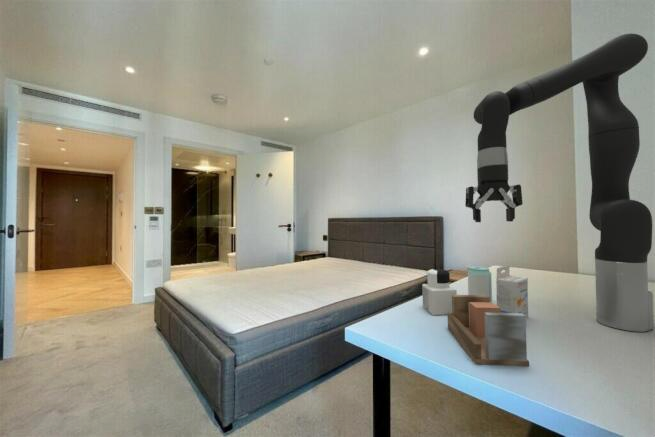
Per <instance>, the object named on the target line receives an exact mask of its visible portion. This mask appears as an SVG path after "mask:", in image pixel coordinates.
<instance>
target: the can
mask: <svg viewBox="0 0 655 437" xmlns="http://www.w3.org/2000/svg"><path fill="white" fill-rule="evenodd" d="M492 283H493V282H492V272H491V271H490V268H489V267H486V266H480V265H479V266H476V265H475V266H470V267H469V269H468V271H467V295H487V296H489V297H490V302H492V303H493V289H492V286H493V285H492Z"/></svg>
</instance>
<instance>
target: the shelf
mask: <svg viewBox="0 0 655 437" xmlns="http://www.w3.org/2000/svg"><path fill="white" fill-rule="evenodd" d="M469 302H490V297H489V296H487V295H468V294H457V295H452V314H450V313H447V314H448V315H447V329H448V331H449V333H451V334H452V336H453V337H454V338H455V339H456V341H457V342H458V343H459V345H460V346H461V348H463V350H464V351H465V353H466V354H467V355H468V357H469V358H470V359H471V360H472V362H473V363H474V364H475V365H492V366H493V365H494V366H513V367H514V366H515V367H530V361H529V360H528V352H527V351H528V350H527V318H526V316H525V315H524V314H522V313H488V312H485V337H476V336H475V334H474V333H473V332H472V331H471V330H470V329H469Z"/></svg>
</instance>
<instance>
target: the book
mask: <svg viewBox="0 0 655 437" xmlns="http://www.w3.org/2000/svg"><path fill="white" fill-rule="evenodd" d="M485 312H488V313H501V308H500V307H498V306H497V304H495V303H494V302H493V301H492V302H469V329H470V330H471V331H472V332H473V333H474V334H475V336H476V337H485Z"/></svg>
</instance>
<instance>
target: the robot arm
mask: <svg viewBox="0 0 655 437" xmlns="http://www.w3.org/2000/svg"><path fill="white" fill-rule="evenodd" d="M648 50H649V43H648V41H647V40H646V38H645V37H644V36H643V35H640V34H639V33H638V34H637V33H625V34H624V33H623V34H621V35H618V36H616V37H614V38H611V39H610V40H608V41H606V43H604V44H603V45H601V46H598V47H597V48H595V49H594V50H592V51H590V52H588V53H586V54H584V55H582V56H580V57H578V58H575V59H574V60H572V61H570V62H568V63H566V64H563V65H561V66H559V67H557V68H554V69H552V70H549V71H547V72H545V73H542V74H540V75H537V76H535V77H532V78H530V79H528V80H525V81H523V82H520V83H518V84H516V85H514V86H513V87H511V88H510V89H509V90H508V91H506V92H503V91H499V90H498V91H497V90H496V91H495V90H494V91H492V92H490V93H488V94H487V95H486V96H484V97H483V99H482V100H481V101H480V102H479V103H478V104H477V105H476V107H475V109H474V111H473V119H474V121H475V122H476V123H477V124H479V125H481V128H480V131H479V133H478V135H477V156H476V157H477V160H476V169H477V170H476V175H477V177H476V178H477V186H468V187H466V188H465V207H466V208H469V209H471V210H472V219H473V221H474V222H475V223H481V222H482V217H481V216H482V215H481V214H482V212H481V209H480V208H481V207H482V205H483V204H484V203H486V202H492V201H493V202H499V201H500V202H501V203H502V204H503V205H504V206H505V207H506V208H505V220H506V222H513V221H514V220H515V219H516V208H517V207H519V206H522V205H523V195H522V194H523V193H522V185H521V184H513V185H510V184H509V155H508V148H507V127H508V125H509V119H510V116H511V115H513V114H514V113H516V112H519V111H521V110H525V109H527V108H530V107H532V106H535V105H537V104H540V103H543V102H545V101H547V100H549V99H551V98H553V97H556V96H557V95H559V94H561V93H563V92H565V91H567V90H569V89H571V88H574V87H575V86H577V85H579V84H581V83H582V86H583V91H584V96H585V101H586V107H587V108H586V111H587V112H586V114H587V126H588V127H587V129H588V133H587V134H588V136H587V137H588V138H587V139H588V152H589V154H588V155H589V166H590V168H589V169H590V177H591V195H590V205H589V206H590V207H589V214H588V215H589V221H590V223H591V225H592V226H593V227H594V228H595V229H596V230H597V231H600V234H599V235H600V239H599V244H598V246H597V247H596V248H595V250H594V264H595V265H594V267H595V277H594V278H595V305H596V307H595V310H596V316H595V317H596V321H597V322H598V323H599V324H602V325H604V326H608V327H610V328H615V329H618V330H623V331H628V332H640V333H642V332H643V333H644V332H649V331H651V330H652V329H654V330H655V328H654V325H655V323H654V320H655V319H654V294H653V291H650V290H649V277H648V276H649V275H648V274H649V273H648V272H649V271H648V255H649V254H650V253H651V250H652V246H653V241H652V240H653V216H652V213H651V210H650V208H648V207H647V205H646V204H644V203H643V202H640V201H638V200H636V199H631V198H630V178H631V174H632V171H633V170H634V169H633V168H634V167H635V163H636V161H637V158H638V155H639V152H640V146H641V145H640V144H641V143H640V142H641V140H640V125H639V121H638V119H637V117H636V115H634V113H633V112H632V111H631V110H630V109H629V108H628V107H627V106H626V105H625V104H624V103H623V102H622V100H621V98H620V93H619V79H620V76H622V75H623V74H625V73H627V72H628V71H630V70H631V69H633V68H635V66H637V65H639V63H641V62H642V61H643V59H644V58H645V57H646V55H647V53H648ZM476 192H477V193H478V195H479V196H478V197H477V198H476V200H475V201H474V197H475V196H474V195H475V194H476ZM509 192H510V193H511V195H512V198H511V197H510V195H508V193H509Z"/></svg>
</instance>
